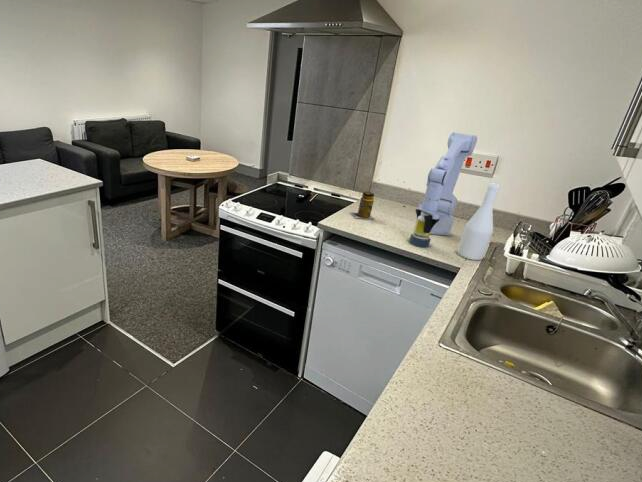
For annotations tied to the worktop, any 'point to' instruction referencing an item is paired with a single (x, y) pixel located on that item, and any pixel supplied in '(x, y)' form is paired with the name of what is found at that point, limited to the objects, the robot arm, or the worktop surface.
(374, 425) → the worktop surface
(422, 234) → the pill bottle
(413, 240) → the tin
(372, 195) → the condiment
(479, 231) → the wine bottle
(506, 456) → the worktop surface
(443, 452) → the worktop surface
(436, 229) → the robot arm
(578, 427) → the worktop surface
